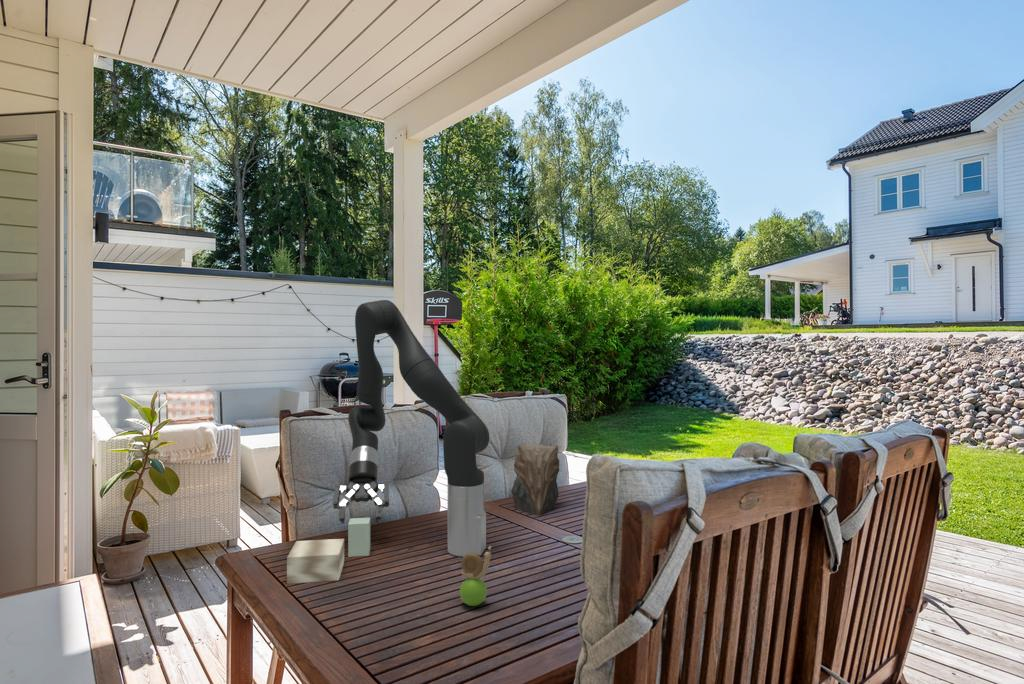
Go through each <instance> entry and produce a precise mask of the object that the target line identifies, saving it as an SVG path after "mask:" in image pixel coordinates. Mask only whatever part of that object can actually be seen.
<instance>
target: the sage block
mask: <svg viewBox="0 0 1024 684" xmlns="http://www.w3.org/2000/svg"><path fill="white" fill-rule="evenodd" d="M347 525H348V526H347V537H348V538H347V540H348V541H347V557H349V558H350V557H366V556H370V552H371V517H357V518H356V517H355V518H353V517H352V518H349V521H348V524H347Z"/></svg>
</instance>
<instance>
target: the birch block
mask: <svg viewBox="0 0 1024 684" xmlns="http://www.w3.org/2000/svg"><path fill="white" fill-rule="evenodd" d="M292 546H293V547H292V548H291V550H290V551H289V554H288V555H287V557H286V584H287V585H288V584H304V583H319V582H320V583H321V582H322V583H323V582H333V581H340V578H341V575H342V571H343V568H344V564H345V538H332V539H331V538H330V539H329V538H328V539H312V540H310V539H309V540H296V541H295V543H294V545H292Z"/></svg>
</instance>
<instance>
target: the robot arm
mask: <svg viewBox="0 0 1024 684" xmlns="http://www.w3.org/2000/svg"><path fill="white" fill-rule="evenodd" d="M354 314H355V316H354V327H355V340H356V341H355V342H356V353H357V360H358V361H357V363H358V371H357V372H358V375H357V386H356V388H357V389H356V398H357V400H358V401H359V402H360V403H362V404H365V405H368V406H355V407H353V408H351V409H350V410H349V412H348V416H347V417H348V418H347V419H348V421H347V422H348V425H349V429H350V432H351V433H350V434H351V438H352V444H351V445H352V447H351V455H350V459H349V468H348V469H349V470H348V479H347V480H348V481H347V484H346V485H341V484H339V483H336V484H335V486H334V487H335V488H334V490H333V491H334V492H333V498H332V507H333V509H334V510H337V509H338V520H339V522H340V523H341V524H345V521H346V509H347V508H348V507H349V506H351V505H352V504H353V503H354V502H355V503H360V502H365V503H366V502H369V501H370V502H371V503H372V504H373V505H374V506H375V522H376V523H378V522H379V521H380V520H381V519H382V515H383V513H382V511H383V509H384V508H385V507H386V508H388V507H389V506H390V492H389V491H390V490H389V483H388V482H386V481H385V482H384V483H383V484H378V471H379V469H378V468H379V457H378V456H379V455H378V451H379V449H378V448H379V438H378V435H377V434H376V433H374V432H380V431H381V430H383V429H384V428H385V425H386V415H385V414H386V413H385V409H384V405H383V398H382V397H383V388H384V387H383V385H384V373H383V368H382V365H381V364H380V362H379V360H378V358H377V355H376V352H375V340H376V339H375V338H376V336H378V335H383V334H387V335H388V337H390V338H391V340H392V341H393V343H394V345H395V346H396V348H397V352H398V368H399V371H400V375H401V377H402V379H403V380H404V381H405V383H406V384H407V386H408V387H409V389H410V390H411V392H412V393H413V394H414V395H415V396H416V397H417V398H419V399H420V400H421V401H423V402H424V403H425V404H427V405H428V406H430V407H431V408H433V409H434V410H435V411H436V412H438V413H439V414H440V415H441V416H442V417H443V419H445V420H446V421H447V423H448V425H447V426H446V428H445V431H444V433H443V437H442V439H443V441H442V442H443V443H442V444H443V445H442V449H443V465H444V467H443V468H444V472H445V475H446V476H447V541H446V542H447V543H446V544H447V553H449V554H450V555H452V556H456V557H464V556H465V555H466V554H468V553H475V554H477V555H479V556H482V554H484V553H483V552H484V551H485V550H486V548H487V511H486V510H485V473H484V471H483V470H482V469H480V468H478V465H477V456H476V455H477V454H478V453H480V452H483V451H484V450H486V449H487V447H488V446H489V443H490V433H489V429H488V427H487V426H486V423H484V422H483V420H482V419H481V418H480V416H478V415H477V414H476V413H475V411H473V409H472V408H471V407H470V406H469V405H468V404H467V403H466V402H465V401H464V399H463V398H462V397H461V396H460V394H459V393H458V392H457V391H456V389H455V388H454V386H453V385H452V384H451V382H450V381H449V380H448V378H446V376H445V375H444V373H443V371H442V370H441V369H440V367H439V366H438V365H437V363H436V362H435V361H434V359H433V358H432V357H431V355H430V354H429V353H428V352H427V351H426V350H425V348H424V347H423V345H422V344H421V342H420V340H418V338H417V337H416V335H415V334H414V332H413V330H412V329H411V327H410V326H409V325H408V322H407V320H406V319H405V317H404V316H403V314H402V312H401V311H400V309H399V308H398V307H397V305H396V304H395V303H393V302H392V301H391V300H388V299H382V300H381V299H380V300H374V301H368V302H363V303H361V304H360V305H358V306H357V309H356V311H355V313H354ZM378 491H380V492H381V494H383V495H384V496H383V497H384V498H383V500H381V499H380V497H379V496H378V495H377V492H378ZM344 492H346V493H347V494H345V496H344V498H343V499H342V500H341V501H340V498H341V496H342V495H343V494H344Z"/></svg>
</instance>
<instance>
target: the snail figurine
mask: <svg viewBox="0 0 1024 684" xmlns="http://www.w3.org/2000/svg"><path fill="white" fill-rule="evenodd" d="M487 549H488V550H489V551H485V552H484V553H483V554H484V555H483V556H484V557H483V558H484V561H483V560H482V559H483V558H481V555H477V554H475V553H468V554H466V555H465V556H462V559H461V565H460V566H461V567H462V569H463V570H464V571H460V572H461V575H462V576H463V577H464V578H466V579H465V580H464V581H463V582H462V583H461V585H460V588H459V596H460V599H461V601H462V602H463V603H464V604H466V605H467V606H469V607H476V606H479V605H481V604H483V602H484V601H485V599H486V597H487V595H488V594H487V593H488V588H487V585H486V583H485V582H484V580H482V578H483V577H484V576H485V575H486V574H487V572H488V570H489V566H490V562H491V561H490V560H491V558H492V551H491V549H492V546H491V545H489V546H488V548H487Z"/></svg>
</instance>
